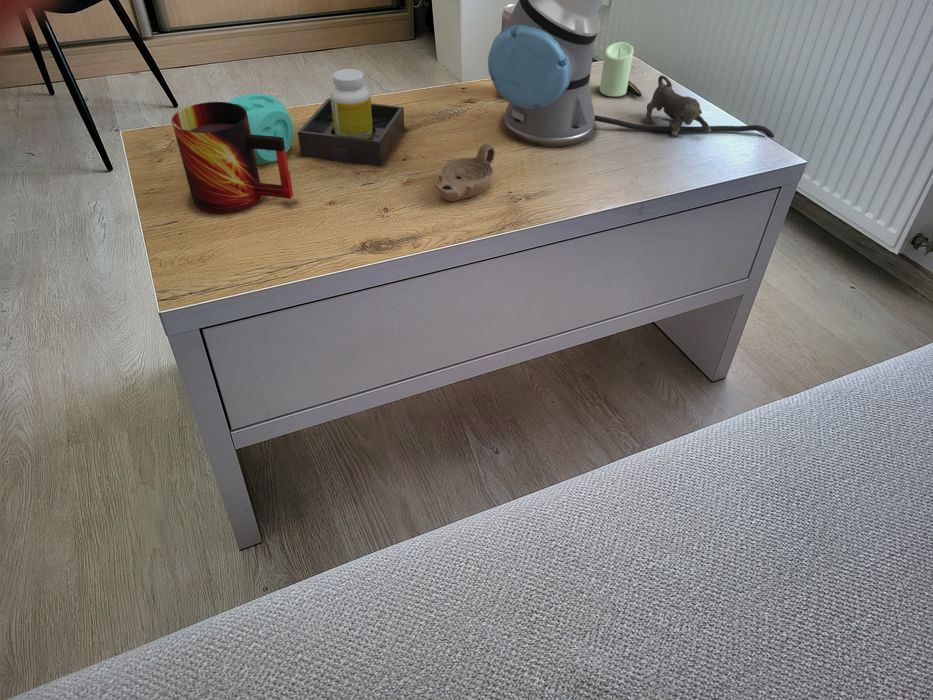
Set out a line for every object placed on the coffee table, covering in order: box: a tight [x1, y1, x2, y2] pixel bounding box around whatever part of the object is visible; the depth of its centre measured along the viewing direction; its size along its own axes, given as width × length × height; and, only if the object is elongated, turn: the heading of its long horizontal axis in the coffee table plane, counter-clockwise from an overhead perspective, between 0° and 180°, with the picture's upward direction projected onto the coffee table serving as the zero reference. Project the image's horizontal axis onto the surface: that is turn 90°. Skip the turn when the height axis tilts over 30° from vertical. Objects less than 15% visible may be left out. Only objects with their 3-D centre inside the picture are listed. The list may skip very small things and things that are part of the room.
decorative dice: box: [227, 93, 295, 166], centre depth 110 cm, size 8×8×8 cm
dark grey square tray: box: [314, 112, 397, 163], centre depth 116 cm, size 13×13×2 cm
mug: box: [171, 101, 294, 215], centre depth 99 cm, size 10×14×12 cm
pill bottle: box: [329, 68, 373, 139], centre depth 113 cm, size 6×6×11 cm
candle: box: [599, 41, 634, 98], centre depth 131 cm, size 5×5×8 cm
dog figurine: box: [645, 75, 713, 137], centre depth 120 cm, size 12×6×7 cm, turn 30°
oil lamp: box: [434, 143, 496, 202], centre depth 105 cm, size 13×8×5 cm, turn 143°
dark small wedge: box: [627, 80, 642, 98], centre depth 136 cm, size 14×1×2 cm, turn 13°
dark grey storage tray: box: [297, 97, 406, 167], centre depth 115 cm, size 13×13×4 cm
